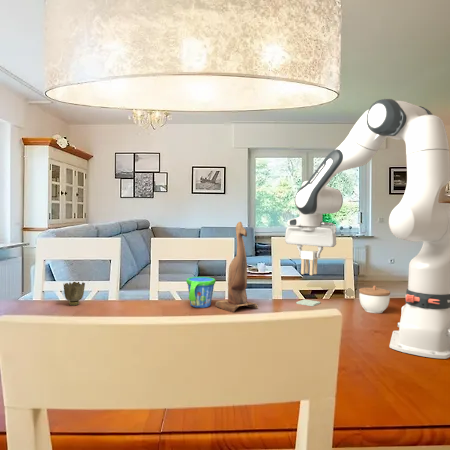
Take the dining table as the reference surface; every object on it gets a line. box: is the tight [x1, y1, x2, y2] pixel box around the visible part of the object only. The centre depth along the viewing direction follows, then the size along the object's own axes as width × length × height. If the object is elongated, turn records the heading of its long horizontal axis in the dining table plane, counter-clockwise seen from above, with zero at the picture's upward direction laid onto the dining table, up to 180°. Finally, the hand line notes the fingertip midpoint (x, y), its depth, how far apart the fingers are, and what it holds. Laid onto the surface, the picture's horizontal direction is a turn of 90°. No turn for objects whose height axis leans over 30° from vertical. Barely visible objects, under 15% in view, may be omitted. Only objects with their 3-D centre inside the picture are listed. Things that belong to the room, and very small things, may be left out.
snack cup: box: [185, 276, 216, 309], centre depth 158 cm, size 16×10×10 cm
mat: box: [295, 298, 321, 307], centre depth 166 cm, size 7×7×1 cm
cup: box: [63, 281, 86, 307], centre depth 155 cm, size 8×7×8 cm
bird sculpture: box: [215, 221, 259, 314], centre depth 155 cm, size 11×12×32 cm
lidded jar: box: [358, 285, 391, 314], centre depth 155 cm, size 11×11×9 cm
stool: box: [300, 249, 319, 276], centre depth 165 cm, size 5×5×9 cm
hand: (309, 257), depth 165 cm, fingers closed on stool, 5 cm apart
